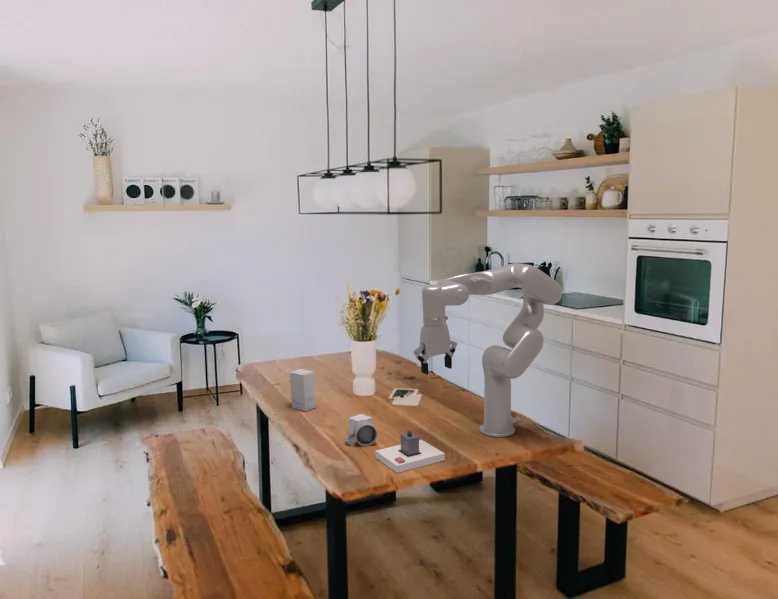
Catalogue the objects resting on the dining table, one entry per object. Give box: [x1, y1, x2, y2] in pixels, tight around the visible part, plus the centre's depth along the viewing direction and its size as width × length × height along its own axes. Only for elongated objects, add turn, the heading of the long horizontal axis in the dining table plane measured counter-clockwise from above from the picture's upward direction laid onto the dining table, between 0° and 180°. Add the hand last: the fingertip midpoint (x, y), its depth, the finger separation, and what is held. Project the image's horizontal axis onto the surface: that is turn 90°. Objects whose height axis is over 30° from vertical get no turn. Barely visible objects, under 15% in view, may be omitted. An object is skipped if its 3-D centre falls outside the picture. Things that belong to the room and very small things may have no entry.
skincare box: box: [289, 368, 317, 412], centre depth 259 cm, size 8×7×16 cm
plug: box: [400, 429, 420, 457], centre depth 208 cm, size 4×5×10 cm
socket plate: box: [374, 439, 446, 474], centre depth 208 cm, size 18×14×3 cm
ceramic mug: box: [344, 420, 378, 447], centre depth 222 cm, size 11×8×8 cm
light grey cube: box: [348, 413, 373, 435], centre depth 231 cm, size 6×6×6 cm
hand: (436, 370), depth 217 cm, fingers open, 9 cm apart
